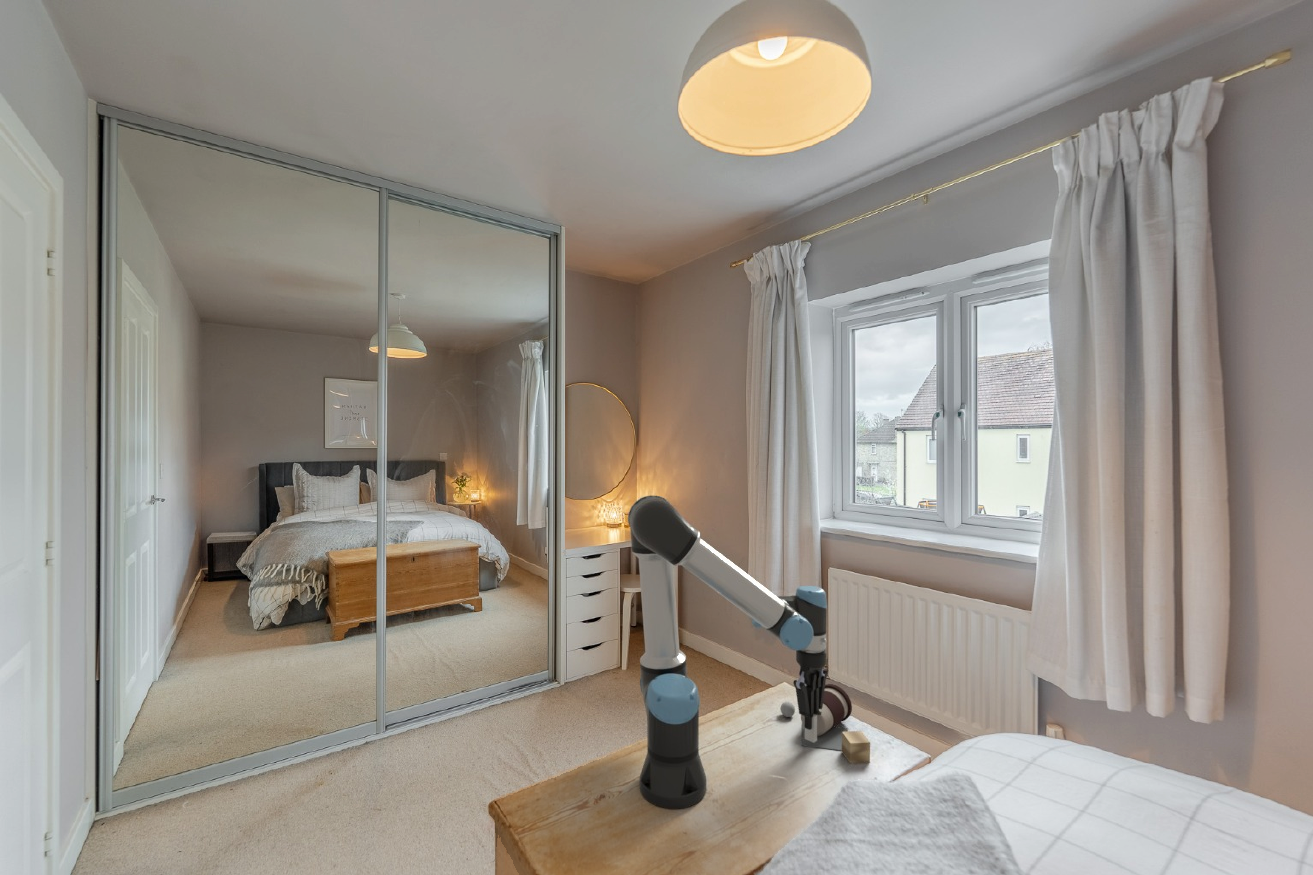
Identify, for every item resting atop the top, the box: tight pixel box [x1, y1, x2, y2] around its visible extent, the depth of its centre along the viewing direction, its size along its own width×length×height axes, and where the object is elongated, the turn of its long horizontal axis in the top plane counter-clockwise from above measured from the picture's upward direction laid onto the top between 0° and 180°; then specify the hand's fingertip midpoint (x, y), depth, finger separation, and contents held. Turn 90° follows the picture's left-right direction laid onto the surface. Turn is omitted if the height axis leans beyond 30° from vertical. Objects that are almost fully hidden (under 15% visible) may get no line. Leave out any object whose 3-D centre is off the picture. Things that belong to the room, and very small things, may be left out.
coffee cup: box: [800, 683, 853, 736], centre depth 156 cm, size 10×10×15 cm
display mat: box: [801, 723, 849, 752], centre depth 151 cm, size 12×12×1 cm
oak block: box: [841, 730, 871, 764], centre depth 141 cm, size 5×5×5 cm
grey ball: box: [780, 701, 796, 718], centre depth 162 cm, size 4×4×4 cm
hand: (810, 739), depth 146 cm, fingers closed
